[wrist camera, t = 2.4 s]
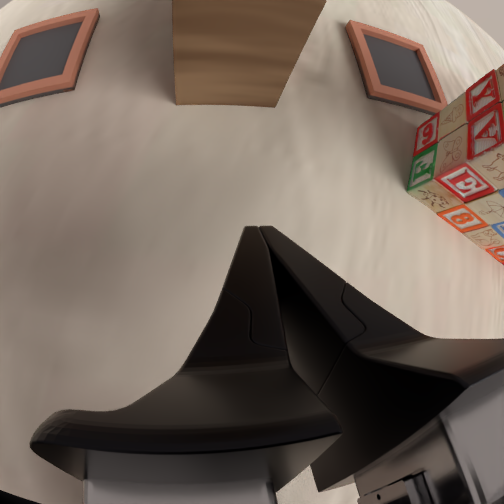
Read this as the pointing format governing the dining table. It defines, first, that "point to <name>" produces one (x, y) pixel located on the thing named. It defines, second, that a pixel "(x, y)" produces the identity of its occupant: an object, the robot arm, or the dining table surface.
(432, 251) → the dining table surface
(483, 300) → the dining table surface
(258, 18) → the walnut brick
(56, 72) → the tile
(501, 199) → the stack of blocks
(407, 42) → the tile
